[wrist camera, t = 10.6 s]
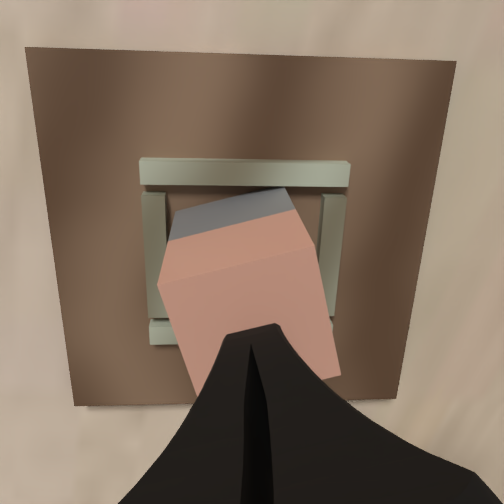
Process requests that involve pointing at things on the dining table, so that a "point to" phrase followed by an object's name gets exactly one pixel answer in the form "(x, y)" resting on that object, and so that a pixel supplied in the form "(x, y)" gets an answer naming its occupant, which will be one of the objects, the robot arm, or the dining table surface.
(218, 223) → the pink rectangular block
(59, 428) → the dining table surface
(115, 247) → the board
